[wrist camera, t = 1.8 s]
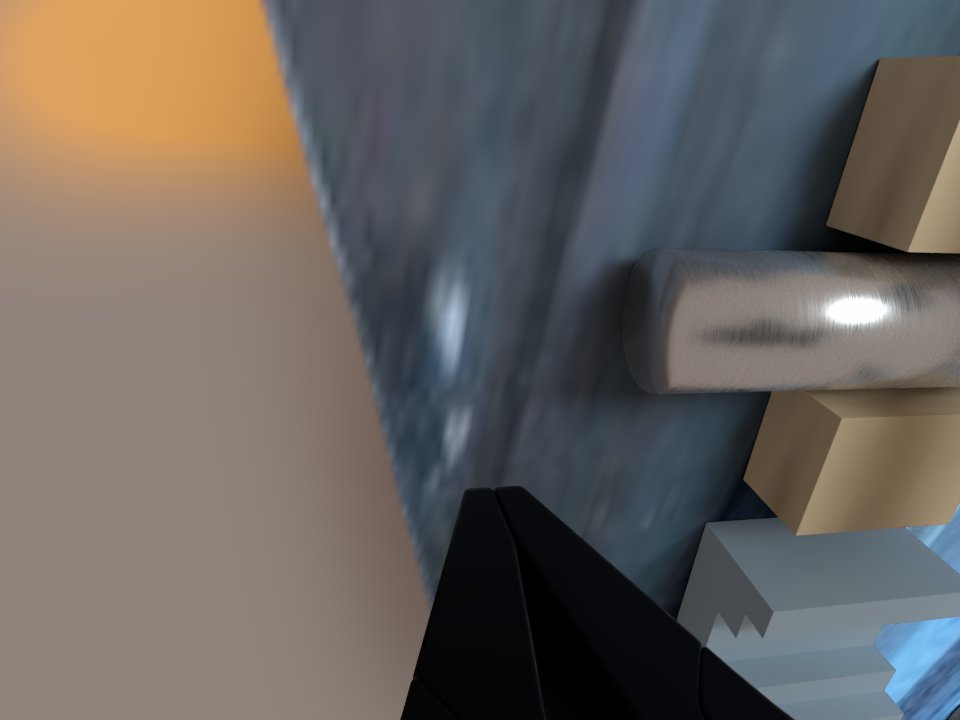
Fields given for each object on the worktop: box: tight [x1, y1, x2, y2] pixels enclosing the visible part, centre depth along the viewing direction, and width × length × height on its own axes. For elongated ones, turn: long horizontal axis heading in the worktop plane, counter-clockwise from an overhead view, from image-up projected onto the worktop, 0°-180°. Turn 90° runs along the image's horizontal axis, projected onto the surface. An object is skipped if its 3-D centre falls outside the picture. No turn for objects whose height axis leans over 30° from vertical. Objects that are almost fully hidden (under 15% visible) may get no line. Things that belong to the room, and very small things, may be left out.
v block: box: [677, 517, 960, 720], centre depth 23 cm, size 8×8×4 cm
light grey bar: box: [621, 248, 960, 394], centre depth 17 cm, size 12×4×4 cm, turn 86°
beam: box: [744, 56, 960, 536], centre depth 18 cm, size 6×14×3 cm, turn 176°
